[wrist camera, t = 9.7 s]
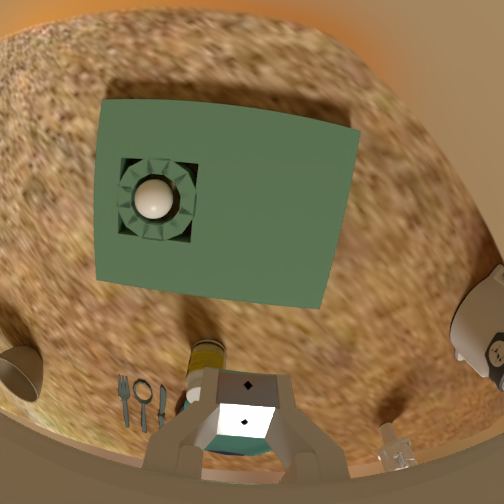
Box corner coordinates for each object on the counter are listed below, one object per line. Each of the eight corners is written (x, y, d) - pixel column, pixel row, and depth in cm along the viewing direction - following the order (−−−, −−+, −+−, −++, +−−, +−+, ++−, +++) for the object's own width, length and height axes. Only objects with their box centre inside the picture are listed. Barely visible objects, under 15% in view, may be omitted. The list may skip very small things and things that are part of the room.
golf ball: (183, 181, 28) (152, 183, 25) (179, 219, 30) (149, 226, 27) (158, 175, 30) (128, 177, 27) (155, 211, 32) (126, 216, 28)
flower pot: (25, 372, 40) (8, 395, 34) (5, 330, 37) (-16, 352, 30) (62, 381, 41) (46, 409, 34) (42, 337, 37) (21, 364, 30)
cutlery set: (275, 452, 49) (276, 461, 46) (124, 425, 46) (121, 434, 44) (311, 389, 42) (313, 400, 40) (117, 354, 39) (112, 363, 37)
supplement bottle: (186, 341, 37) (176, 386, 29) (220, 335, 37) (217, 381, 29) (198, 366, 39) (191, 412, 31) (230, 361, 39) (229, 408, 31)
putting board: (351, 131, 28) (360, 130, 26) (314, 298, 35) (319, 309, 33) (111, 101, 26) (102, 99, 24) (104, 271, 33) (96, 279, 31)
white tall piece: (406, 414, 47) (432, 470, 33) (390, 434, 49) (411, 487, 35) (378, 418, 46) (402, 479, 32) (363, 438, 48) (382, 495, 34)
